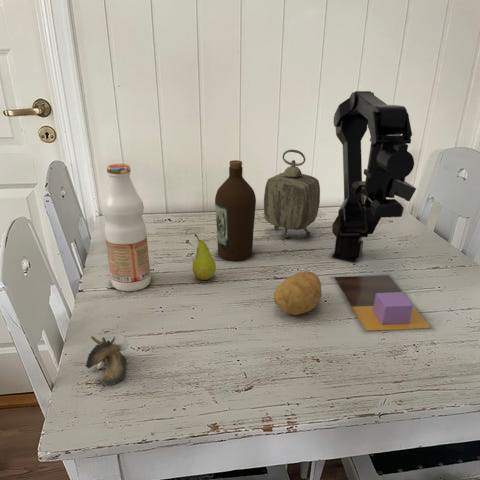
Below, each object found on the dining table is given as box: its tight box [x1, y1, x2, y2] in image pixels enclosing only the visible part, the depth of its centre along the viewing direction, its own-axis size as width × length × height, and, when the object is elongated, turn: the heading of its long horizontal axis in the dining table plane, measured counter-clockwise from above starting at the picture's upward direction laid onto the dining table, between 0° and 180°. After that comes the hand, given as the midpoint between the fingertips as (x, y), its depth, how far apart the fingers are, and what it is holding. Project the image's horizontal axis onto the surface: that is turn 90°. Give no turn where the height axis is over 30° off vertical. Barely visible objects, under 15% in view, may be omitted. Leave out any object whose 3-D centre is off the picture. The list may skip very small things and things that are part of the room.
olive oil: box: [214, 159, 257, 262], centre depth 128 cm, size 11×11×25 cm
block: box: [373, 291, 414, 325], centre depth 105 cm, size 6×6×4 cm
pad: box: [351, 305, 431, 332], centre depth 106 cm, size 10×14×1 cm
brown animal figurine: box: [85, 334, 128, 387], centre depth 88 cm, size 8×7×9 cm
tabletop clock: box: [263, 149, 321, 239], centre depth 140 cm, size 14×9×25 cm, turn 58°
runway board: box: [334, 274, 402, 308], centre depth 117 cm, size 15×14×1 cm
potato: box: [273, 270, 323, 316], centre depth 107 cm, size 10×14×8 cm
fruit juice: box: [101, 163, 151, 292], centre depth 111 cm, size 9×9×28 cm
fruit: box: [191, 233, 217, 281], centre depth 118 cm, size 6×6×12 cm
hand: (369, 233), depth 116 cm, fingers closed
